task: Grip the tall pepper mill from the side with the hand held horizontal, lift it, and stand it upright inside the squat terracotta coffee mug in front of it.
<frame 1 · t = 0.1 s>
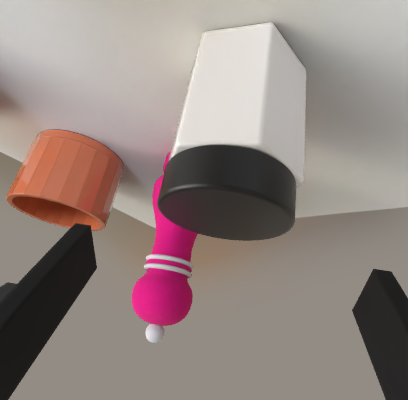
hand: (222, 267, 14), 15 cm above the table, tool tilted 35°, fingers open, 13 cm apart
pepper mill: (191, 161, 35), on the table
jar: (244, 72, 22), on the table
terracotta coffee mug: (81, 156, 38), on the table
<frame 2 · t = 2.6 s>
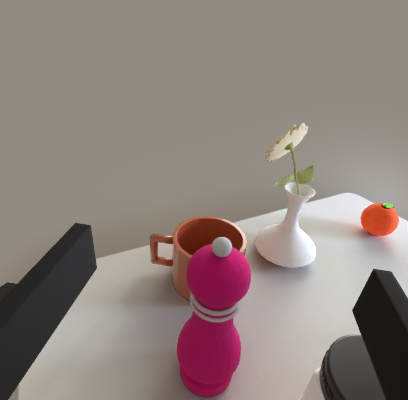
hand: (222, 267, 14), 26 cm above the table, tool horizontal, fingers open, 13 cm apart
pepper mill: (205, 370, 35), on the table
clementine: (374, 232, 63), on the table
terracotta coffee mug: (205, 277, 47), on the table
flower in vase: (278, 253, 54), on the table
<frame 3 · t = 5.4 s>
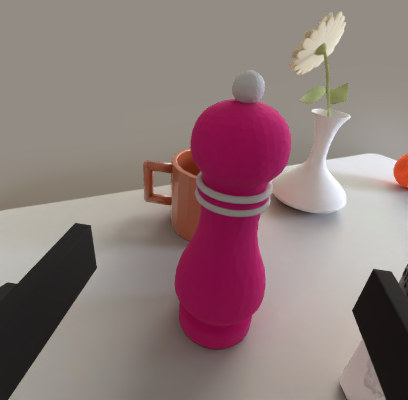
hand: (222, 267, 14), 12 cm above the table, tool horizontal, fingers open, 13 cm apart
pepper mill: (214, 317, 25), on the table
terracotta coffee mug: (212, 220, 38), on the table
flower in vase: (299, 202, 45), on the table
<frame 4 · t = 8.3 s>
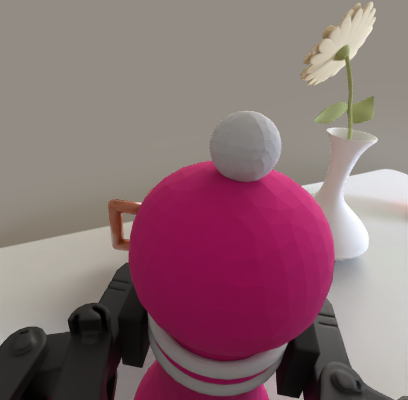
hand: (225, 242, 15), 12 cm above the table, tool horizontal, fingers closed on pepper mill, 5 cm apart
terracotta coffee mug: (200, 272, 30), on the table
flower in vase: (309, 240, 37), on the table
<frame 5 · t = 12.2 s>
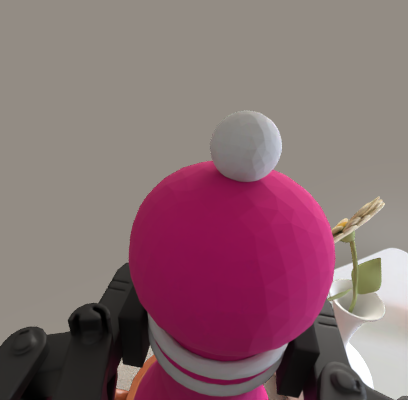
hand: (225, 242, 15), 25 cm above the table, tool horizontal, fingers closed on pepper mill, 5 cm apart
flower in vase: (310, 379, 34), on the table
when the fingers open (13 cm above the table, at t = 16.4 s): pepper mill stays where it is, resting on terracotta coffee mug.
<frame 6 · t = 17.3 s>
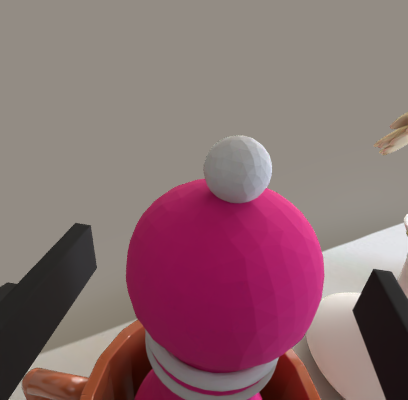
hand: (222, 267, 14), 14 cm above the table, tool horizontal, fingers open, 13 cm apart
flower in vase: (360, 365, 24), on the table
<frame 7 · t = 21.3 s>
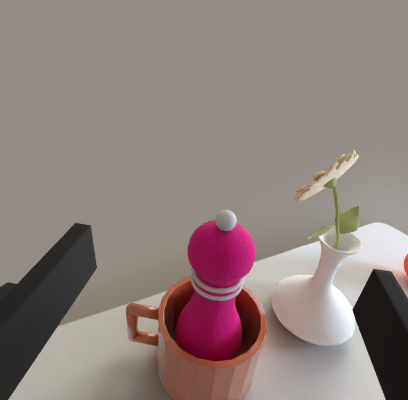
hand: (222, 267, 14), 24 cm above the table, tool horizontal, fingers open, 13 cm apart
pepper mill: (205, 356, 33), point 1 cm above the table, touching terracotta coffee mug
terracotta coffee mug: (205, 360, 34), on the table
flower in vase: (303, 317, 41), on the table
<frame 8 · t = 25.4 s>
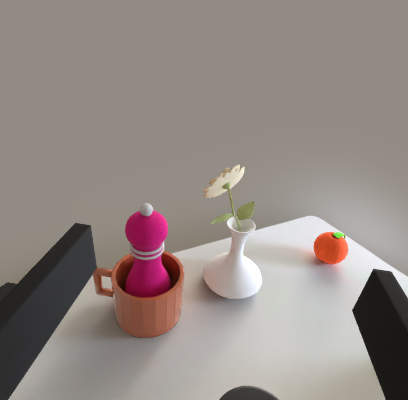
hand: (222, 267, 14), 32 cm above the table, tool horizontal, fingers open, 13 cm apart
pepper mill: (148, 304, 49), point 1 cm above the table, touching terracotta coffee mug
clementine: (327, 259, 64), on the table
terracotta coffee mug: (149, 308, 49), on the table
flower in vase: (227, 282, 56), on the table
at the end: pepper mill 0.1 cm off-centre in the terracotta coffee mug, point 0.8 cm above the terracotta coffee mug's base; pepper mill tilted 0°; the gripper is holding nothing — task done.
